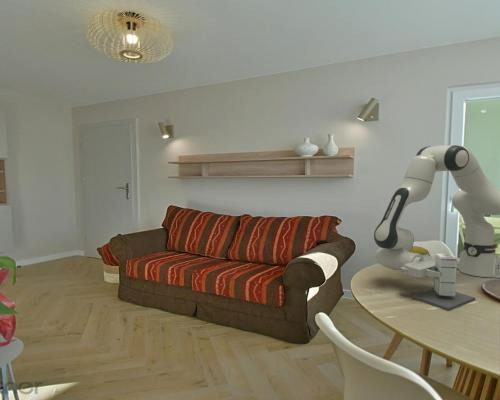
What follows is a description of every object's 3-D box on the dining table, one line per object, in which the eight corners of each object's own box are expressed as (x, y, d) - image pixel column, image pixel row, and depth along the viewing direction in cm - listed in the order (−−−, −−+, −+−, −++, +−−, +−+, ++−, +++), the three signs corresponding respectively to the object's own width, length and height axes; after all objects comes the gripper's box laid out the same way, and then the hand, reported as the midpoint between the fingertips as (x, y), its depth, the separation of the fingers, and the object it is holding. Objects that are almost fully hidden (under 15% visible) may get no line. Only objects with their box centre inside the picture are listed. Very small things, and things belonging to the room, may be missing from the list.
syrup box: (455, 296, 121) (458, 257, 120) (438, 295, 122) (440, 256, 121) (449, 291, 127) (452, 253, 126) (432, 290, 128) (435, 252, 127)
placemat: (440, 289, 135) (440, 287, 135) (475, 300, 124) (475, 297, 124) (413, 298, 126) (413, 296, 126) (448, 310, 115) (448, 308, 115)
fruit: (429, 269, 162) (430, 249, 162) (405, 266, 168) (405, 247, 167) (430, 264, 171) (431, 245, 170) (407, 261, 177) (408, 243, 176)
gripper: (396, 260, 129) (431, 268, 118) (427, 253, 140) (462, 260, 128) (396, 275, 130) (431, 286, 118) (427, 267, 140) (461, 276, 129)
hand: (447, 272), depth 123 cm, fingers closed on syrup box, 8 cm apart
